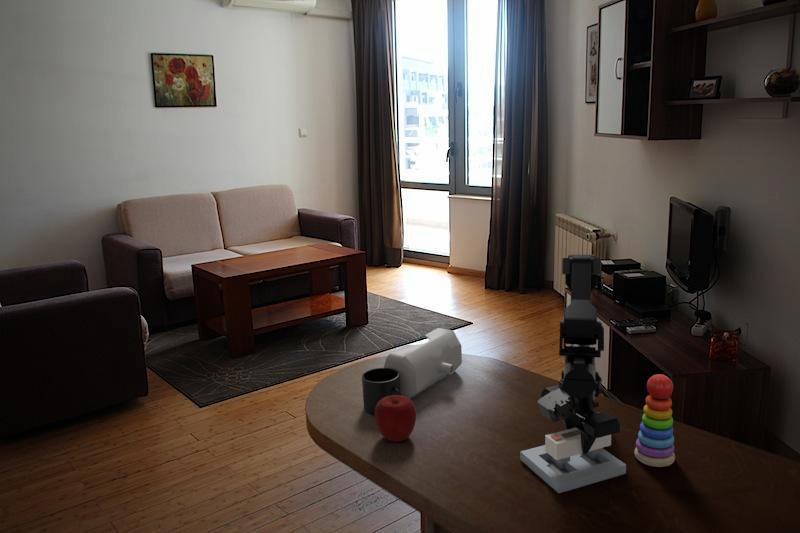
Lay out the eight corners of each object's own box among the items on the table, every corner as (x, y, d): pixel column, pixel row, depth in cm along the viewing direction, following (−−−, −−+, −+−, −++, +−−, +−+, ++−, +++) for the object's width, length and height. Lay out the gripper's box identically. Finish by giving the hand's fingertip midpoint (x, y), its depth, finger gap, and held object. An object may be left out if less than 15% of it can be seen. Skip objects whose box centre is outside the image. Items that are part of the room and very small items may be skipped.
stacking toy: (655, 472, 136) (659, 386, 132) (626, 455, 143) (628, 373, 139) (683, 461, 140) (688, 377, 135) (652, 445, 147) (656, 364, 142)
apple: (425, 440, 154) (423, 399, 152) (389, 452, 149) (386, 411, 147) (403, 424, 162) (401, 385, 160) (368, 436, 157) (365, 396, 155)
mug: (388, 423, 163) (386, 388, 161) (356, 409, 172) (354, 375, 169) (416, 410, 169) (414, 376, 167) (383, 396, 178) (381, 364, 176)
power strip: (598, 443, 141) (598, 420, 140) (610, 452, 138) (611, 428, 136) (545, 458, 137) (545, 433, 136) (556, 467, 133) (556, 442, 132)
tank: (425, 409, 170) (423, 362, 167) (376, 395, 179) (373, 351, 176) (476, 375, 189) (475, 333, 186) (429, 364, 198) (427, 324, 195)
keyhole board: (583, 443, 149) (583, 434, 149) (625, 473, 137) (626, 464, 136) (520, 460, 144) (520, 451, 143) (558, 493, 131) (558, 484, 130)
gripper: (519, 367, 139) (519, 436, 143) (573, 403, 122) (572, 480, 126) (564, 357, 143) (564, 425, 147) (624, 390, 126) (621, 466, 130)
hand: (578, 448), depth 137 cm, fingers closed on power strip, 4 cm apart
